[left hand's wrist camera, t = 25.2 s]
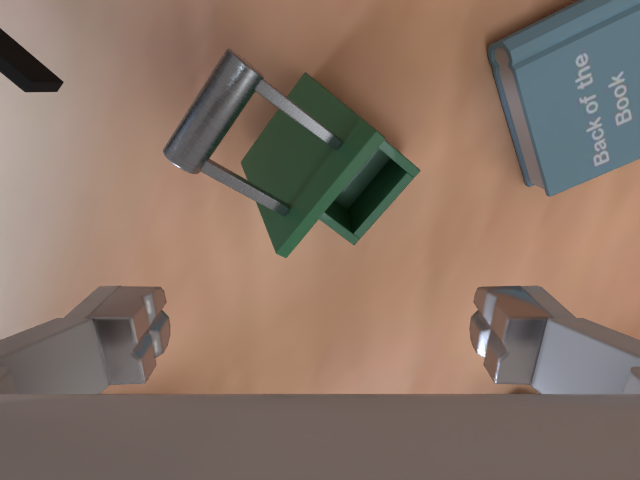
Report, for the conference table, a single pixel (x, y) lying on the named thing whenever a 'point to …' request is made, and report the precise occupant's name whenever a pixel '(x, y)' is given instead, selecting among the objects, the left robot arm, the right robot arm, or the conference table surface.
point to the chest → (369, 193)
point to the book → (572, 92)
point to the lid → (276, 147)
